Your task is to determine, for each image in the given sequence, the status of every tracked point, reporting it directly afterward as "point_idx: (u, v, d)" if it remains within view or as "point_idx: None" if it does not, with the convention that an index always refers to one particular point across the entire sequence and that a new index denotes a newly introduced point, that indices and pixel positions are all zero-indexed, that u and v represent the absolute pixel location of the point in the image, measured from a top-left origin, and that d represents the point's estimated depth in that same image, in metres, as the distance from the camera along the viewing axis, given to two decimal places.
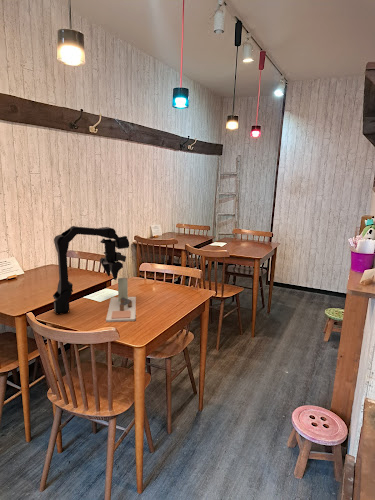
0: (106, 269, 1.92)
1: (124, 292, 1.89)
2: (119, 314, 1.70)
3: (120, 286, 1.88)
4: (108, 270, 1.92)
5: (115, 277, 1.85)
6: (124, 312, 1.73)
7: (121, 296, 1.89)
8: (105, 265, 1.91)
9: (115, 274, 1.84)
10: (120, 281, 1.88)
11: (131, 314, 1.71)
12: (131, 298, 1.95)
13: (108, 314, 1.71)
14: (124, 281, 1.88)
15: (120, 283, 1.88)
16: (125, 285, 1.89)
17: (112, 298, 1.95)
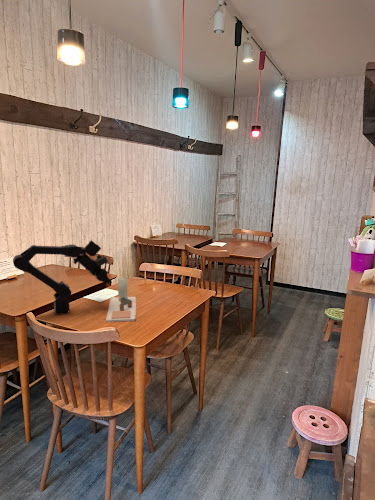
0: None
1: (124, 292, 1.89)
2: (119, 314, 1.70)
3: (120, 286, 1.88)
4: None
5: (109, 281, 1.81)
6: (124, 312, 1.73)
7: (121, 296, 1.89)
8: (95, 273, 1.87)
9: (107, 280, 1.79)
10: (120, 281, 1.88)
11: (131, 314, 1.71)
12: (131, 298, 1.95)
13: (108, 314, 1.71)
14: (124, 281, 1.88)
15: (120, 283, 1.88)
16: (125, 285, 1.89)
17: (112, 298, 1.95)
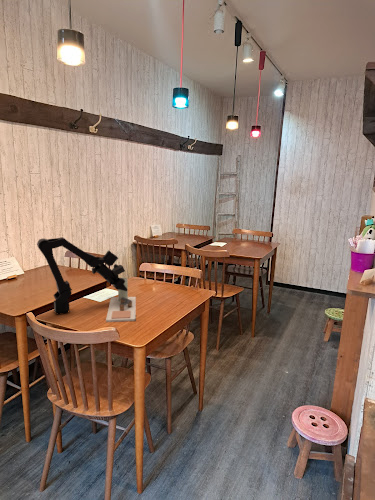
0: None
1: (124, 292, 1.89)
2: (119, 314, 1.70)
3: None
4: None
5: (125, 289, 1.88)
6: (124, 312, 1.73)
7: (121, 296, 1.89)
8: (113, 283, 1.91)
9: (123, 287, 1.87)
10: None
11: (131, 314, 1.71)
12: (131, 298, 1.95)
13: (108, 314, 1.71)
14: None
15: None
16: (125, 285, 1.89)
17: (112, 298, 1.95)
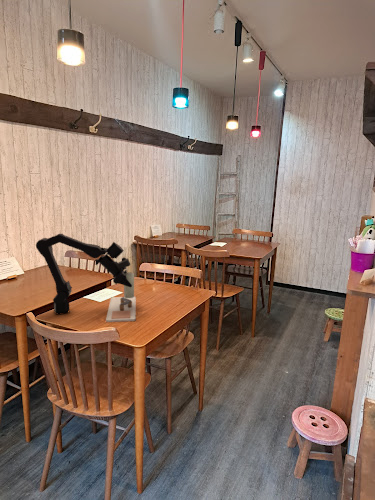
0: None
1: (128, 288, 1.76)
2: (119, 314, 1.70)
3: None
4: None
5: (129, 285, 1.75)
6: (124, 312, 1.73)
7: (125, 292, 1.77)
8: None
9: (126, 283, 1.74)
10: None
11: (131, 314, 1.71)
12: (131, 298, 1.95)
13: (108, 314, 1.71)
14: (129, 276, 1.75)
15: None
16: (130, 281, 1.76)
17: (112, 298, 1.95)
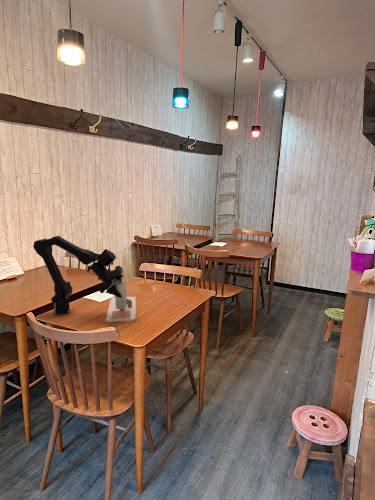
0: None
1: (118, 298, 1.66)
2: (119, 314, 1.70)
3: None
4: None
5: (118, 295, 1.65)
6: (124, 312, 1.73)
7: (116, 302, 1.67)
8: None
9: (115, 293, 1.65)
10: None
11: (131, 314, 1.71)
12: (131, 298, 1.95)
13: (108, 314, 1.71)
14: (119, 286, 1.65)
15: None
16: (120, 291, 1.66)
17: (112, 298, 1.95)
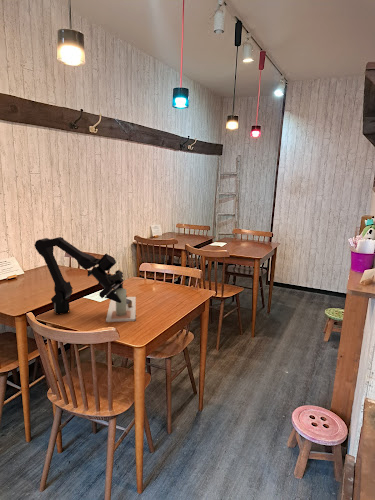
0: None
1: (119, 305, 1.67)
2: None
3: None
4: None
5: (118, 300, 1.64)
6: None
7: (116, 309, 1.68)
8: None
9: (115, 298, 1.64)
10: (116, 292, 1.67)
11: (131, 314, 1.71)
12: (131, 298, 1.95)
13: (108, 314, 1.71)
14: (119, 293, 1.65)
15: (116, 294, 1.67)
16: (120, 298, 1.66)
17: None
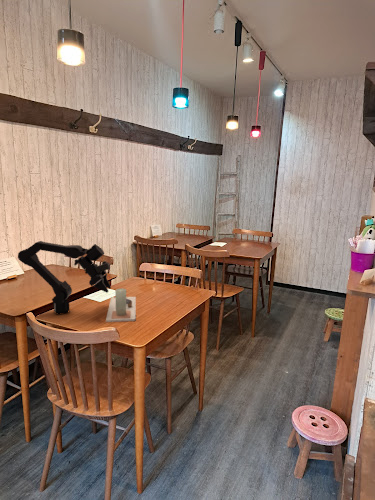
0: (104, 283, 1.78)
1: (119, 305, 1.67)
2: None
3: None
4: (106, 283, 1.78)
5: (105, 290, 1.68)
6: None
7: (116, 309, 1.68)
8: None
9: (102, 287, 1.68)
10: (115, 292, 1.67)
11: (131, 314, 1.71)
12: (131, 298, 1.95)
13: (108, 314, 1.71)
14: (119, 293, 1.66)
15: (115, 294, 1.67)
16: (120, 298, 1.66)
17: (112, 298, 1.95)
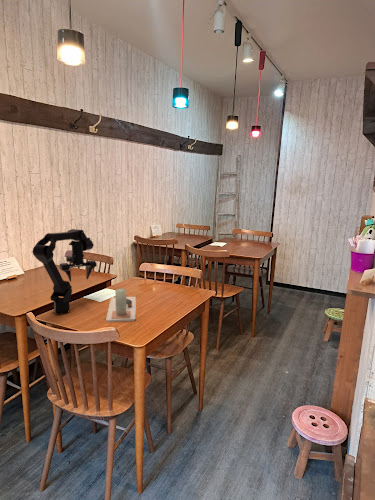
0: None
1: (119, 305, 1.67)
2: None
3: None
4: None
5: None
6: None
7: (116, 309, 1.68)
8: None
9: None
10: (115, 292, 1.67)
11: (131, 314, 1.71)
12: (131, 298, 1.95)
13: (108, 314, 1.71)
14: (119, 293, 1.66)
15: (115, 294, 1.67)
16: (120, 298, 1.66)
17: (112, 298, 1.95)
